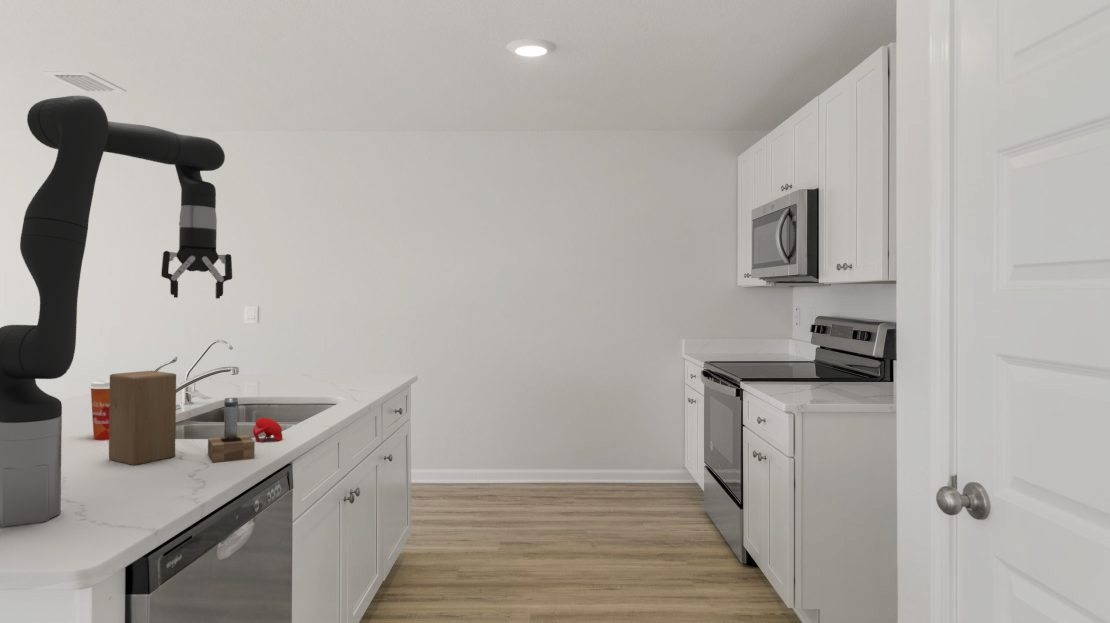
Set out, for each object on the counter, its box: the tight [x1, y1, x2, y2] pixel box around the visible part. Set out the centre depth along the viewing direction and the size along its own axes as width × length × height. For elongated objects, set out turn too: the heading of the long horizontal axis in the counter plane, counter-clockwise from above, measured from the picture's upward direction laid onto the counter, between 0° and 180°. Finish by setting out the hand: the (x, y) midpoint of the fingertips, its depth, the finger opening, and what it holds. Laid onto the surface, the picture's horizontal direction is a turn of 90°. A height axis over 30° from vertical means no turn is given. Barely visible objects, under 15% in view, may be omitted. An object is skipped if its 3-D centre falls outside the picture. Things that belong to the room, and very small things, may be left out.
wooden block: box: [108, 370, 177, 466], centre depth 157 cm, size 10×10×20 cm
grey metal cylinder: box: [223, 397, 239, 442], centre depth 161 cm, size 3×3×14 cm
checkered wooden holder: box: [207, 434, 256, 463], centre depth 161 cm, size 9×9×4 cm
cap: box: [252, 417, 283, 442], centre depth 180 cm, size 8×6×6 cm
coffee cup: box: [88, 379, 110, 441], centre depth 177 cm, size 8×8×15 cm
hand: (197, 298), depth 154 cm, fingers open, 8 cm apart
